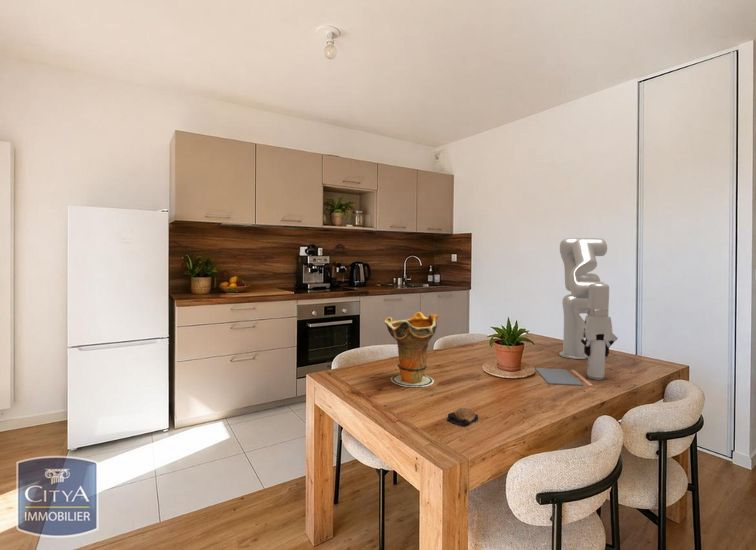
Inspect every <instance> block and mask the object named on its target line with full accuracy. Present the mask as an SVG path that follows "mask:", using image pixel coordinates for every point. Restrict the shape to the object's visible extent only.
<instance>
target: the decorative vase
mask: <svg viewBox="0 0 756 550" xmlns="http://www.w3.org/2000/svg"><path fill="white" fill-rule="evenodd" d="M438 317H439V315H438V314H429V316H428V317H426V316H425V315H424V313H423V312H421V311H417V312H415V313H414V314H413V316H412V317H411V318H407V319H400V320H393V317H391V316H387V317H386V318H385V319H384V321H383V323H384V324H385V325H386V328H387V331H388V333H389V335H390V336H391V337H392V338H393V339H394V340H395V341H396V343H397V349H398V350H397V354H398V362H399V363H398V364H397V367H398V368H399V374H396V375H393V376H391V377H390V378H389V379H390V380H391V382H392V383H393V384H395V385H399V386H401V387H405V388H408V387H409V388H421V387H428V386H431V385H434V382H435V380H434V379H433V378H432V377H431V376H428V375H426V374H425V373H426V369H427V368H428V367H427V366H428V365H427V358H428V347H429V342H430V340H431V339H432V338H433V337H434V336H436V335H435V334H436V331H437V327H438V326H437V325H438V324H437V319H438ZM397 367H395V371H396V370H397Z"/></svg>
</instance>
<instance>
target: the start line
mask: <svg viewBox="0 0 756 550" xmlns="http://www.w3.org/2000/svg"><path fill="white" fill-rule="evenodd" d="M570 371H571V372H572V373H573V374H574V375H575V376H577V377H578V378H579V379H580V380H581V381H582V382H584V383H585V384H586V385H587V386H588V387H594V385H593V384H592V383H591V382H590V381H588V380H587V379H586V378H585V377H584V376H582V375H581V373H579V372H578V371H576V369H571V370H570Z"/></svg>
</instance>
